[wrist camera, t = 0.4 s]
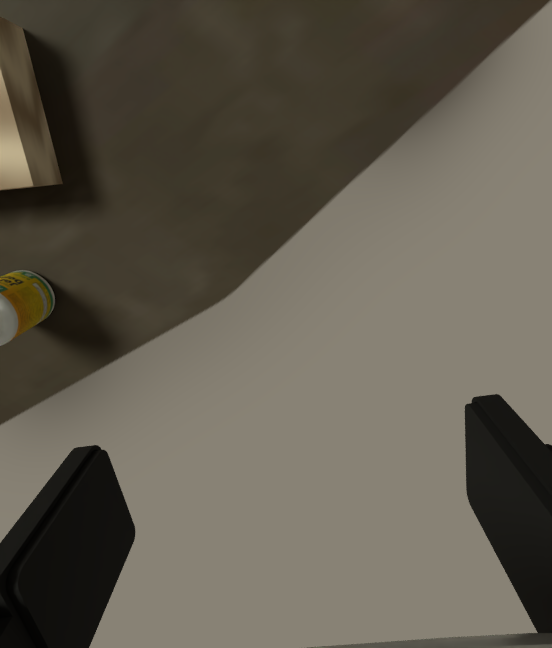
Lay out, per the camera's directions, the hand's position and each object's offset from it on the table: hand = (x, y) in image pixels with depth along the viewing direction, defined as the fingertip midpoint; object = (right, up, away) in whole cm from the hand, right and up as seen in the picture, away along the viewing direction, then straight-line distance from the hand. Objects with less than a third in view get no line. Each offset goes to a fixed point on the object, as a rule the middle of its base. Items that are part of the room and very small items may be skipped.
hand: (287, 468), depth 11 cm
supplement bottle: (-25, +7, +31) cm, 40 cm away
